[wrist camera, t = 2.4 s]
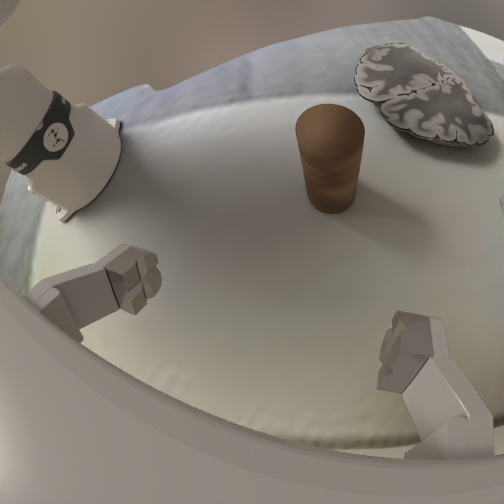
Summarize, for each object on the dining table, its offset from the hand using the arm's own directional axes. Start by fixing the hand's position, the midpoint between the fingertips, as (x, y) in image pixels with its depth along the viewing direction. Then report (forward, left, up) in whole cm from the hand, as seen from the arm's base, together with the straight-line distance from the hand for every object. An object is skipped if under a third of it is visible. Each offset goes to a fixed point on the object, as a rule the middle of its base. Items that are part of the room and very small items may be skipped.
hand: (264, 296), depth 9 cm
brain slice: (+5, +29, -17) cm, 34 cm away
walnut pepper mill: (-2, +12, -17) cm, 21 cm away
